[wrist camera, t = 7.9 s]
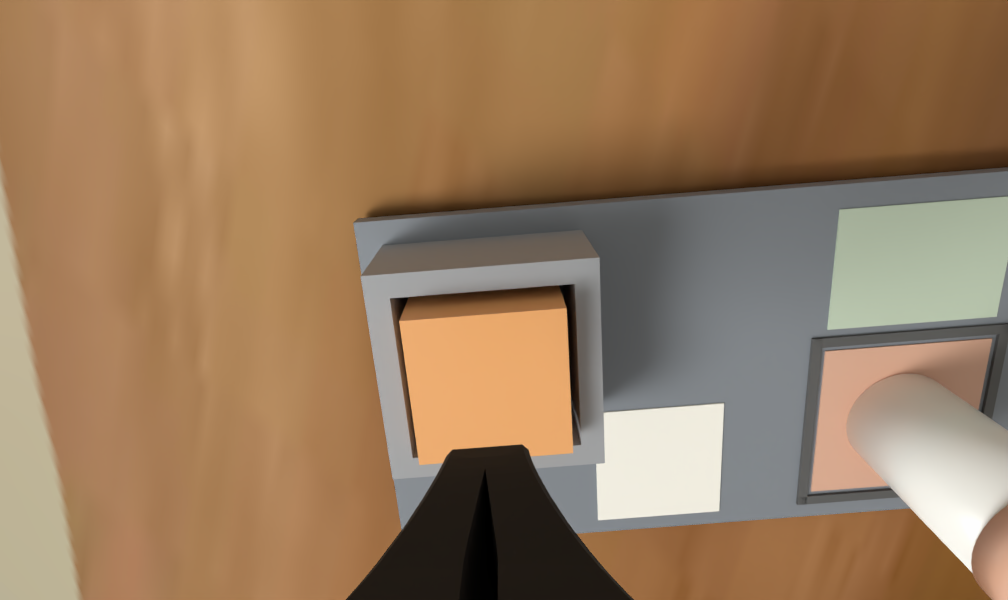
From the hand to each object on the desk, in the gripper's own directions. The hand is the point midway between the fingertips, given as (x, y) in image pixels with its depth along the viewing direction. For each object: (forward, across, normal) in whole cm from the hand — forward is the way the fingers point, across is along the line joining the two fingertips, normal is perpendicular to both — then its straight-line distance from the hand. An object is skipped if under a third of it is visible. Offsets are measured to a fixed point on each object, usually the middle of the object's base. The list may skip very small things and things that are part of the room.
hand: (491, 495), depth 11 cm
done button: (+6, 0, 0) cm, 6 cm away
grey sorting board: (+8, -7, +2) cm, 11 cm away
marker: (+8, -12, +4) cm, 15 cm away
